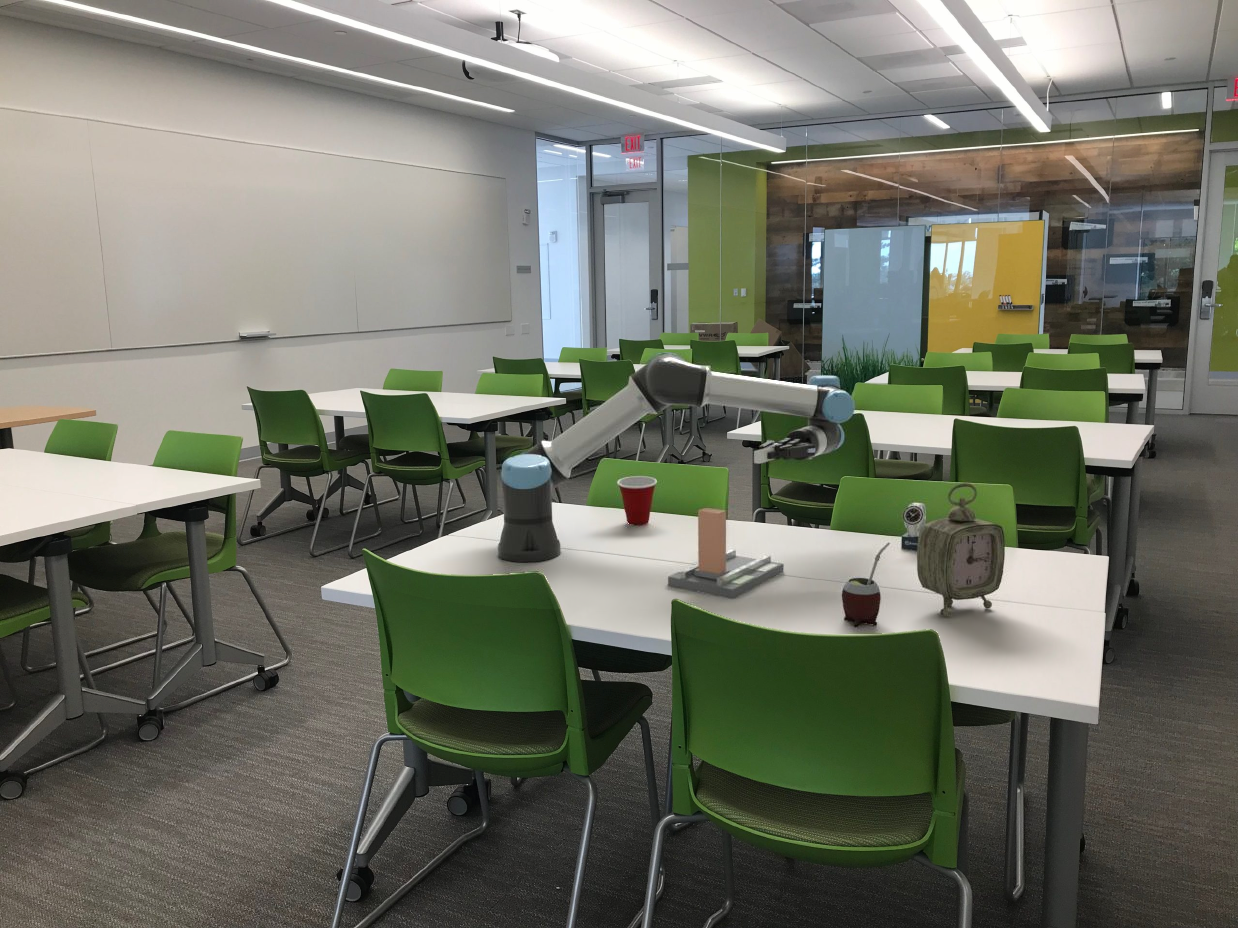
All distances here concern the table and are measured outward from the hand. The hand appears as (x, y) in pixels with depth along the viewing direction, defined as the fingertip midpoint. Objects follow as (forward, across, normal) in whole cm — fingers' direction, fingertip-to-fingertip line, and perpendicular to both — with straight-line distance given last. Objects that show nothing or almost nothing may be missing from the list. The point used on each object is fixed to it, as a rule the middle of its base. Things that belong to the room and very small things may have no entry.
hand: (757, 457), depth 213 cm
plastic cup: (-17, +46, -25) cm, 55 cm away
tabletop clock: (+5, -47, -25) cm, 53 cm away
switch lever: (+19, 0, -23) cm, 30 cm away
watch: (-33, -25, -25) cm, 48 cm away
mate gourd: (+22, -35, -25) cm, 48 cm away
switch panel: (+13, 0, -25) cm, 28 cm away
